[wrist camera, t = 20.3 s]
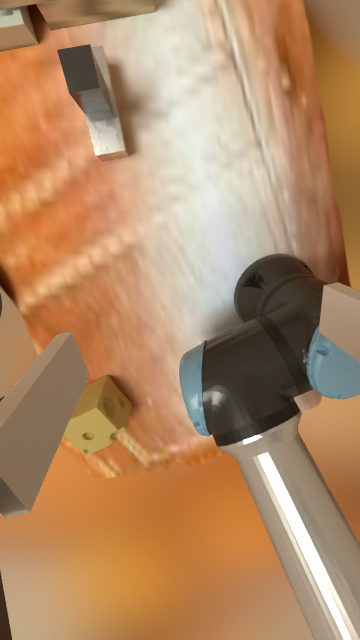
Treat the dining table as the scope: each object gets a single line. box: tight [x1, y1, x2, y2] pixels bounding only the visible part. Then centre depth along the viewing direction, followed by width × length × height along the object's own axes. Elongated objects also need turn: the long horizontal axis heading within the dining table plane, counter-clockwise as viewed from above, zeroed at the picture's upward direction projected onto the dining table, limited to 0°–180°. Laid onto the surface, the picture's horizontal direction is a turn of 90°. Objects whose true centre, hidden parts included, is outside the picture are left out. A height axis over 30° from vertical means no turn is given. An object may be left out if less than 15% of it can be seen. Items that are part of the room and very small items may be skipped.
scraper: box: [57, 44, 128, 161], centre depth 27 cm, size 4×10×12 cm, turn 9°
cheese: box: [63, 375, 132, 455], centre depth 49 cm, size 10×11×10 cm
